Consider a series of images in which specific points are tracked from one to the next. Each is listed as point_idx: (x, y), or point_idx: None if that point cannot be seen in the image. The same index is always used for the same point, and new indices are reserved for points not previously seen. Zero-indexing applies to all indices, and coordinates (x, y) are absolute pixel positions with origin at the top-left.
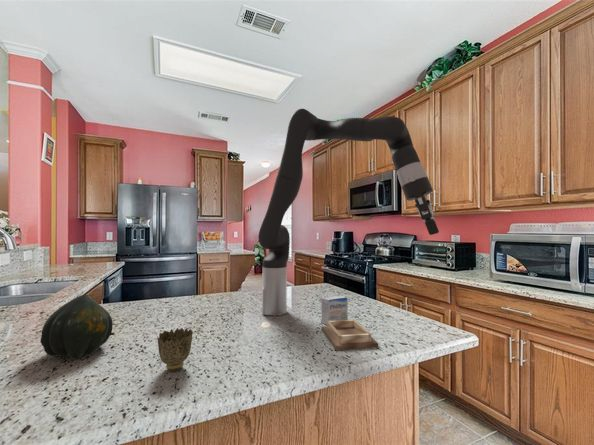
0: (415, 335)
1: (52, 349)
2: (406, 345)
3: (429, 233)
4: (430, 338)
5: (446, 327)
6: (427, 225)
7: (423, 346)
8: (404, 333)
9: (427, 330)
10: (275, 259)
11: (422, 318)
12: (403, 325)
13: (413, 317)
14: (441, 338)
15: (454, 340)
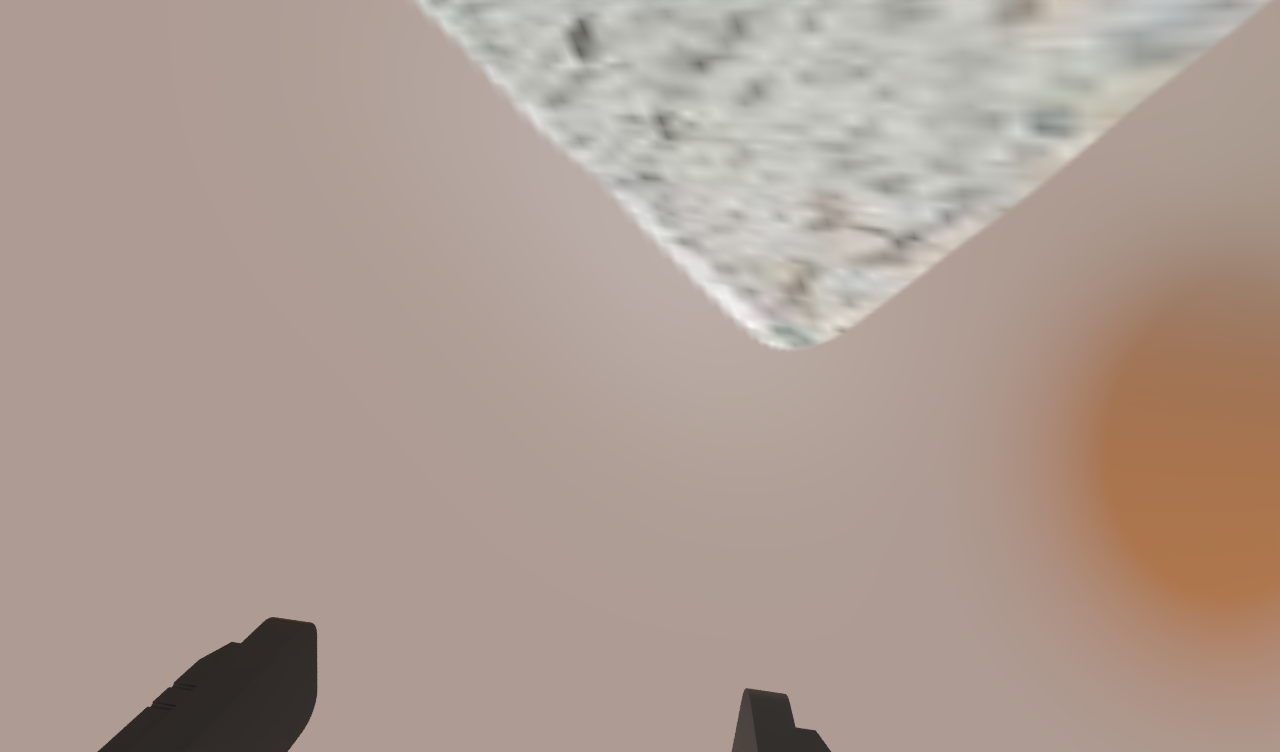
0: (725, 104)
1: None
2: (564, 56)
3: (264, 629)
4: (707, 179)
5: (900, 270)
6: (115, 736)
7: (589, 140)
8: (737, 40)
9: (826, 172)
10: None
11: (1061, 155)
12: (887, 28)
13: (1081, 95)
14: (725, 229)
15: (718, 279)
